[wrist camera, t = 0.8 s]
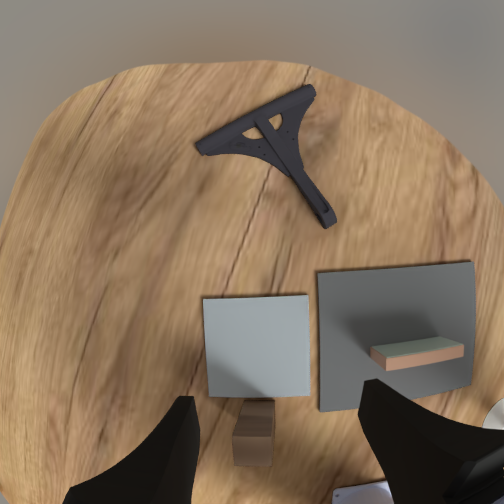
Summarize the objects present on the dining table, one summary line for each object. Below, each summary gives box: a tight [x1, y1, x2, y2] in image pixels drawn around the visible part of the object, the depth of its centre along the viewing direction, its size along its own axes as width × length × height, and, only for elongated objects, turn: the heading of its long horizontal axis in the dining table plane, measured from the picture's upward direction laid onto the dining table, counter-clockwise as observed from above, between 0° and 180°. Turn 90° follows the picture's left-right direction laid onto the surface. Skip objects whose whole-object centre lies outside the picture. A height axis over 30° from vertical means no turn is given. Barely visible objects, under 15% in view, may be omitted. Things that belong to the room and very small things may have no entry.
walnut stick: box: [232, 400, 275, 466], centre depth 24 cm, size 3×3×8 cm
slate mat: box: [317, 262, 476, 412], centre depth 27 cm, size 14×18×1 cm
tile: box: [370, 336, 464, 371], centre depth 24 cm, size 1×8×5 cm, turn 93°
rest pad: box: [203, 295, 310, 398], centre depth 28 cm, size 10×10×1 cm
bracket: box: [195, 84, 337, 229], centre depth 30 cm, size 14×15×3 cm
